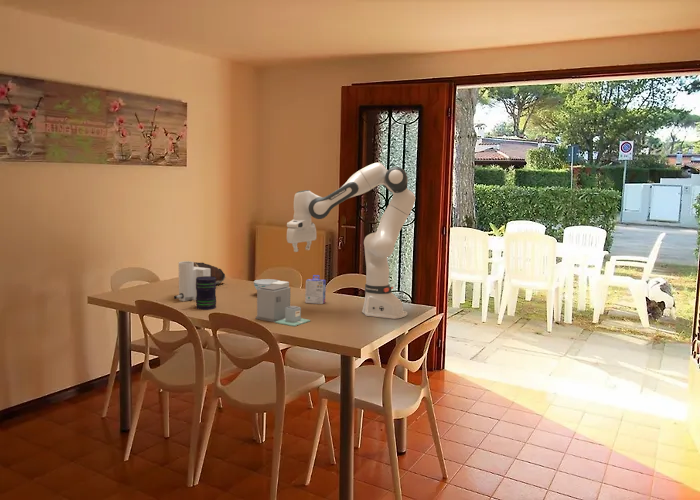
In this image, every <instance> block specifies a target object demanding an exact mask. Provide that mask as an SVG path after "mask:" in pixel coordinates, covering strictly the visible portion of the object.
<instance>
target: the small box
mask: <svg viewBox="0 0 700 500" xmlns="http://www.w3.org/2000/svg"><path fill="white" fill-rule="evenodd" d="M271 285H281V286H287V287H289V288H290V281H286V280H280V281H277V282H273V283H271Z"/></svg>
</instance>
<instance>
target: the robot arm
mask: <svg viewBox="0 0 700 500" xmlns="http://www.w3.org/2000/svg"><path fill="white" fill-rule="evenodd" d="M379 185H381V186H383V187H384V188H385V189H386V190H388V192H390V193H392V198H391V199H390V201H389V203H388V205H387V207H386V208H385V210H384V212H383V214H382V215H381V217H380V220H379V224H378V227H377V230H376V231H375V232H371V233H369V234H367V235H366V236H365V237H364V240H363V246H364V256H365V257H364V258H365V266H366V267H365V268H366V269H365V270H366V271H365V272H366V277H365V281H366V282H365V285H364V294H365V296H364V302H363V307H362V310H361V313H362V314H364V315H365V316H366V317H367V316H368V317H375V318H376V317H377V318H384V319H392V320H395V319H401V318H404V317H407V316H408V315H409V314H408V311H404V307H403V305H404V304H403V302H402V301H401V299H399V298H398V297H397V295H395V294H393V292H392V290H394V286H391V285H390V284H389V283H390V282H389V281H390V279H389V278H390V268H389V267H390V266H389V264H388V258H389V257H390V256H391V255H392V254H393V252H394V251H395V245H396V243H397V240H398V237H399V234H400V231H401V230H402V228H403V226H404V224H405V223H406V220H407V219H408V218H409V215H410V213H411V212H412V210H413V207H414V205H415V202H416V196H415V194H414V192H413V191H412V190H410V189H408V174H407V172H406V171H405V170H404V169H403V168H402V167H399V166H393V167H391V168H388V169H387V168H386V167H385V165H384V164H383V163H381V162H379V161H378V162H374V163H371V164H369V165H366V166H365V167H363V168H361V169H359V170H358V171H356V172H354V173H353V174H352V175H351V176H349V178H348V179H347V181H346V182H345V183H344V184H343V185H341V186H340V187H339V188H337V189H336V190H334V191H333V192H332V193H330V194H328V195H326V196H320V195H318V194H315V193H314V192H312V191H311V190H309V189H305V190H300V191H297V192H296V193H295V194H294V196H293V197H294V198H293V211H294V213H293V219H291V220H290V221H287V223H286V227H287V229H286V241H287V244H292V245H291V246H292V247H293V252H294V253H297V252H299V250H300V249H299V247H298V243H306V246H305V251H310V249H311V245H312V241H316V240H317V227H316V224H315V223H314V222H313V221H312V218H314V219H316V220H322V219H324V218H326V217H328V215H329V214H330V212H331V210H333V209H334V208H335V207H336V206H338V205H340V204H341V203H343V202H344V201H346V200H349V199H351V198H354V197H356V196H361V195H363V194H366V193H368V192H370V191H371V190H373V189H375V188H376V187H378V186H379Z"/></svg>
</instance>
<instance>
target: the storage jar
mask: <svg viewBox="0 0 700 500" xmlns="http://www.w3.org/2000/svg"><path fill="white" fill-rule="evenodd" d="M216 289H217V284H216V277H211V276H203V277H197V278H196V290H197V297H196V300H195V306H196V307H195V308H196V309H197V310H200V309H201V310H202V311H210V310H214V309H217V296H216V295H217V294H216Z"/></svg>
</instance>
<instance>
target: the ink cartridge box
mask: <svg viewBox="0 0 700 500" xmlns="http://www.w3.org/2000/svg"><path fill="white" fill-rule="evenodd" d="M320 276H321V275H319V274H313V275H312V278H308V279H306V280H305V294H304V296H305V298H304V299H305V301H304V302H305V304H317V305H318V304H319V305H320V304H321V305H323V304H325V303H326V287H327V286H326V285H327V283H326V282H327V281H326V279H320V278H321V277H320Z"/></svg>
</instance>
